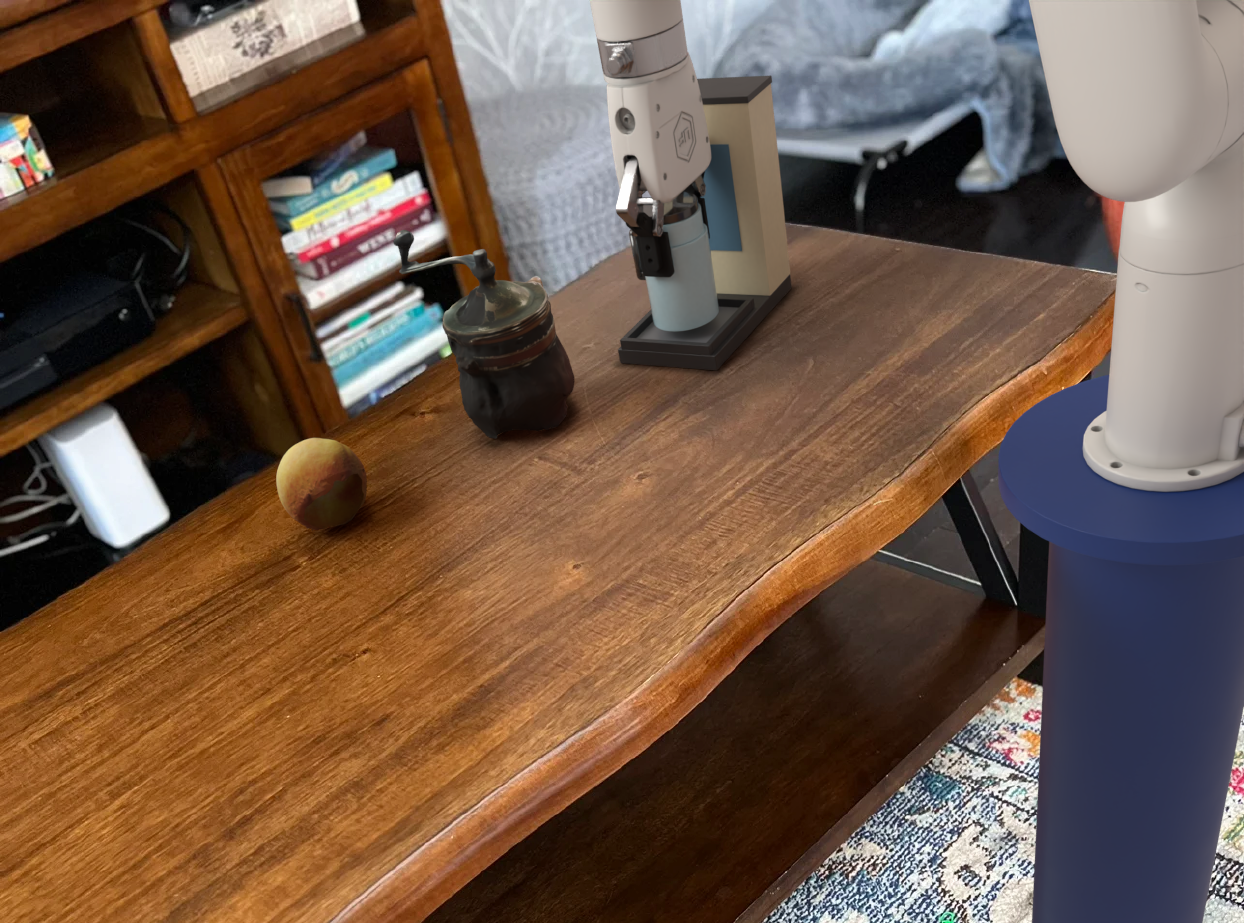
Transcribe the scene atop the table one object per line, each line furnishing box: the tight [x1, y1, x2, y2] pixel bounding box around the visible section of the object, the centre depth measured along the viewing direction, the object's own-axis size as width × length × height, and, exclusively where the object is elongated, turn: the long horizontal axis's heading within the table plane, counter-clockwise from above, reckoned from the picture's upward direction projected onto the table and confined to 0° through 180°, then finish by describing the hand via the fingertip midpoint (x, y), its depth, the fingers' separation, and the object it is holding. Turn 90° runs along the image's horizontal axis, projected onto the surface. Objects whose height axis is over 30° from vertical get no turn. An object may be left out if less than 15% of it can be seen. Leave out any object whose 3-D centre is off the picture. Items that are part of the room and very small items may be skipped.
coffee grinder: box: [392, 229, 576, 439], centre depth 119 cm, size 13×15×18 cm
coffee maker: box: [617, 75, 793, 371], centre depth 124 cm, size 18×11×20 cm, turn 150°
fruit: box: [275, 437, 368, 532], centre depth 115 cm, size 8×8×8 cm
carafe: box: [628, 192, 719, 332], centre depth 124 cm, size 7×8×11 cm
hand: (677, 256), depth 123 cm, fingers closed on carafe, 6 cm apart
